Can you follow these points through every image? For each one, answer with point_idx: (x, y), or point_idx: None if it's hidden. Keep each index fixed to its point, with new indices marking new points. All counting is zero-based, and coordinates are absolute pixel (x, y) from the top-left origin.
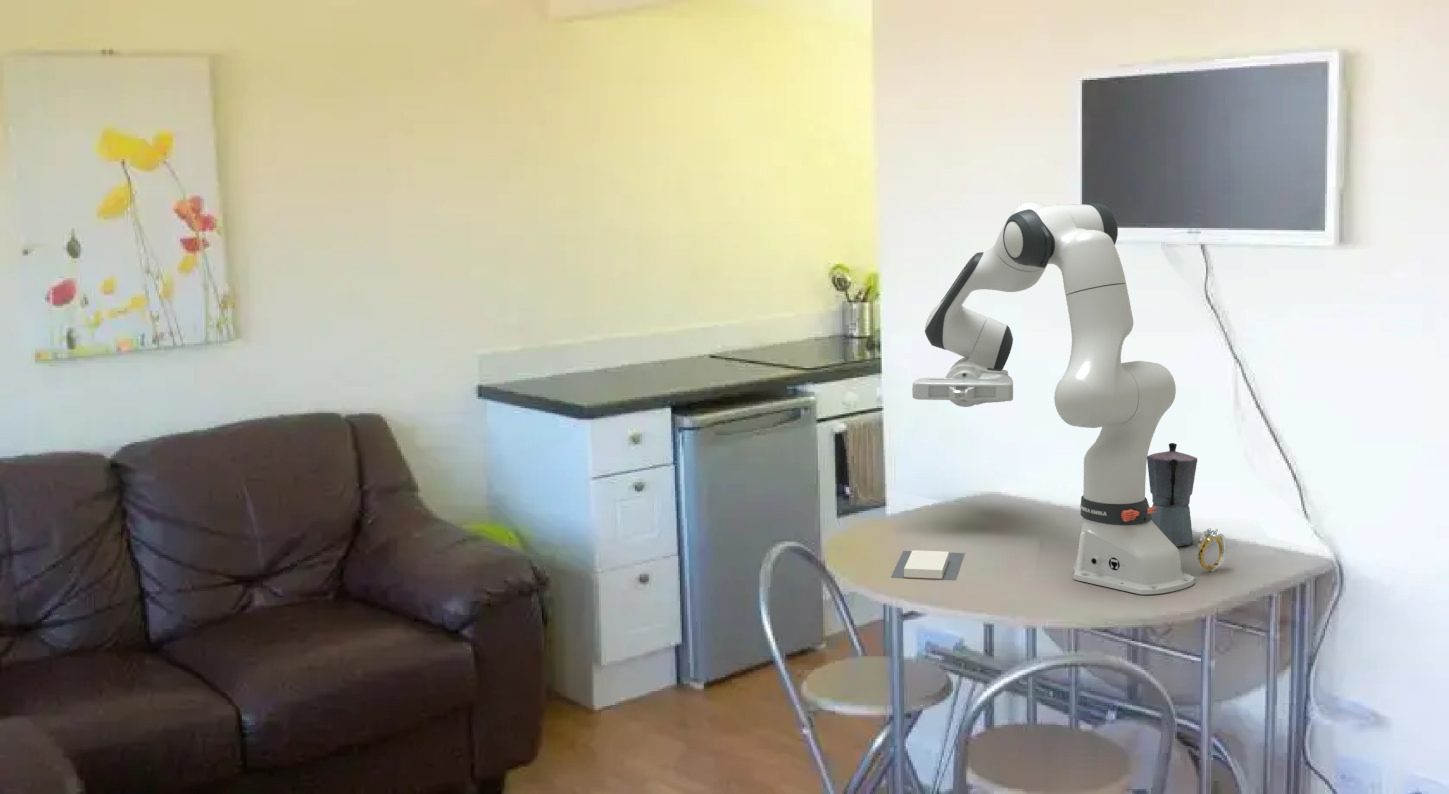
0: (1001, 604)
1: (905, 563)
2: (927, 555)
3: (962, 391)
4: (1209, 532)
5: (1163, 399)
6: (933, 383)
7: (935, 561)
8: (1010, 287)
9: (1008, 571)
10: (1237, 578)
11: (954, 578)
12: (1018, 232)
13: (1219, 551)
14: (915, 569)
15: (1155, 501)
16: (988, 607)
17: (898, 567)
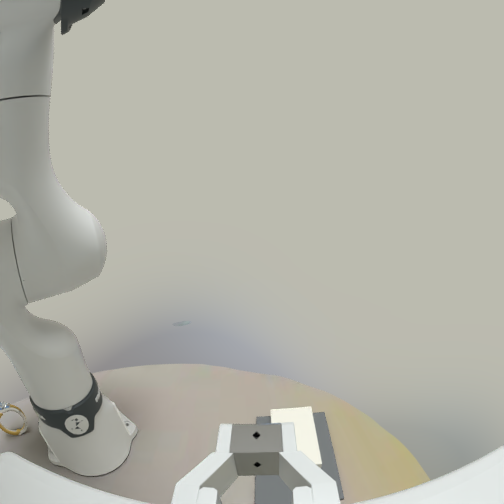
0: (215, 379)
1: (324, 453)
2: (297, 449)
3: (243, 424)
4: (6, 402)
5: None
6: (442, 476)
7: None
8: None
9: (199, 455)
10: (17, 416)
11: (258, 420)
12: None
13: (2, 427)
14: (298, 408)
15: None
16: (225, 373)
17: (327, 439)
